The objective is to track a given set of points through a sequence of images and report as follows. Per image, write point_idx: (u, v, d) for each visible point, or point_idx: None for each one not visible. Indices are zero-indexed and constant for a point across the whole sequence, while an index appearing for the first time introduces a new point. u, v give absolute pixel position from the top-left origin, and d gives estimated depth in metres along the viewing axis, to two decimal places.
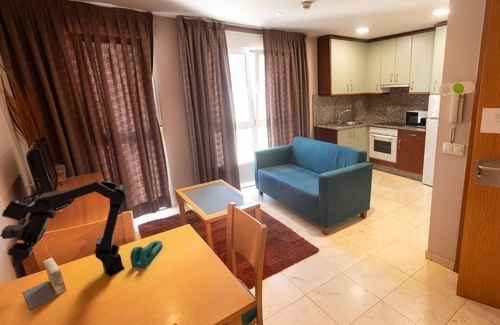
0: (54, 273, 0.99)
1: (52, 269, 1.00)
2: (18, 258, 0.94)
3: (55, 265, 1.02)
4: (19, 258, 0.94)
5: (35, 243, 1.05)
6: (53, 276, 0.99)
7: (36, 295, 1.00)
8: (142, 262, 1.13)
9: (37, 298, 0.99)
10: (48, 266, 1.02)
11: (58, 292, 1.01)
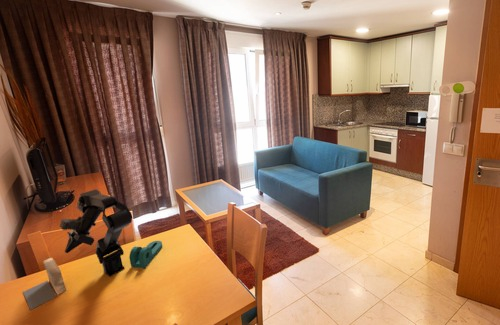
0: (54, 273, 0.99)
1: (52, 269, 1.00)
2: (74, 244, 1.07)
3: (55, 265, 1.02)
4: (74, 244, 1.07)
5: None
6: (53, 276, 0.99)
7: (36, 295, 1.00)
8: (141, 262, 1.13)
9: (37, 298, 0.99)
10: (48, 266, 1.02)
11: (58, 292, 1.01)
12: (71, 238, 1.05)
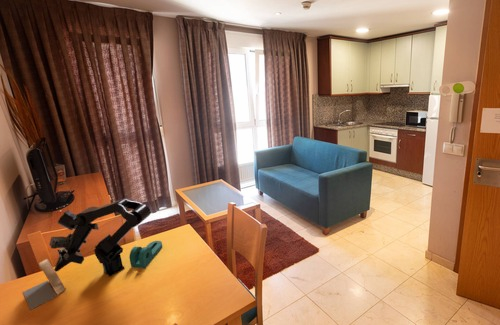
0: (49, 275, 0.98)
1: (47, 271, 0.99)
2: (63, 262, 1.05)
3: (50, 267, 1.01)
4: (64, 262, 1.05)
5: None
6: (49, 278, 0.98)
7: (36, 295, 1.00)
8: (141, 262, 1.13)
9: (37, 298, 0.99)
10: (43, 268, 1.01)
11: (58, 292, 1.01)
12: (61, 256, 1.03)
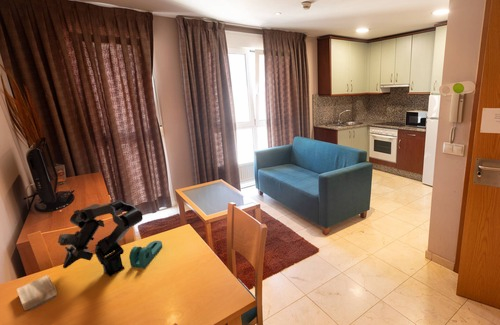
0: (26, 307, 0.94)
1: None
2: (72, 259, 1.07)
3: None
4: (73, 259, 1.07)
5: None
6: (30, 306, 0.94)
7: None
8: (141, 262, 1.13)
9: None
10: None
11: (54, 294, 1.00)
12: (69, 253, 1.05)
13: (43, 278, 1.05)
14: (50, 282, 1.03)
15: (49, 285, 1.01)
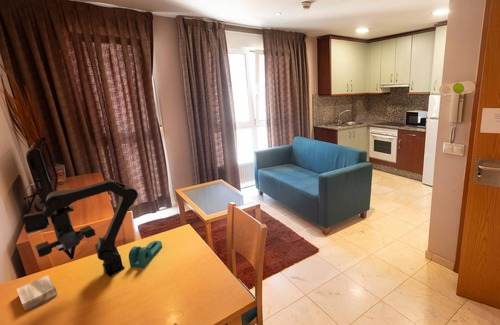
0: (26, 307, 0.94)
1: None
2: None
3: None
4: (73, 247, 1.03)
5: None
6: (30, 306, 0.94)
7: None
8: (140, 262, 1.13)
9: None
10: None
11: (54, 294, 1.00)
12: None
13: (43, 278, 1.05)
14: (50, 282, 1.03)
15: (49, 285, 1.01)
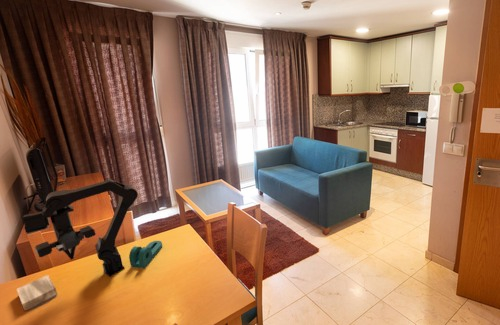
0: (26, 307, 0.94)
1: None
2: None
3: None
4: (73, 247, 1.03)
5: None
6: (30, 306, 0.94)
7: None
8: (141, 262, 1.13)
9: None
10: None
11: (54, 294, 1.00)
12: None
13: (43, 278, 1.05)
14: (50, 282, 1.03)
15: (49, 285, 1.01)
